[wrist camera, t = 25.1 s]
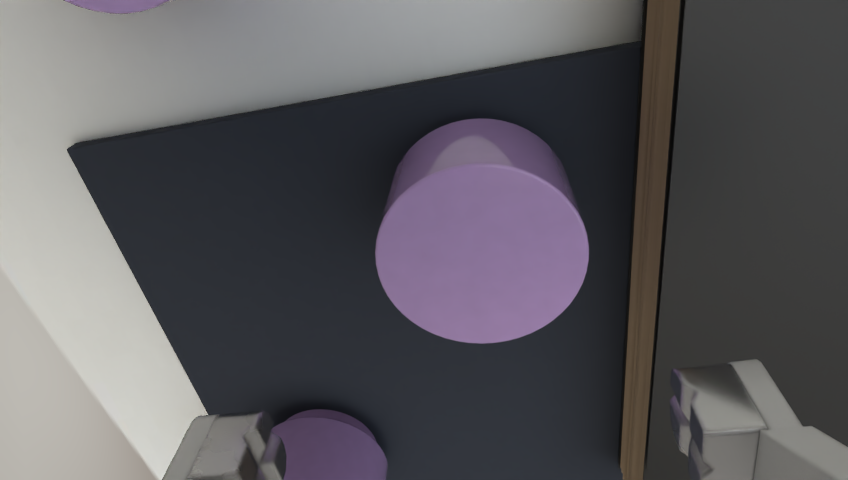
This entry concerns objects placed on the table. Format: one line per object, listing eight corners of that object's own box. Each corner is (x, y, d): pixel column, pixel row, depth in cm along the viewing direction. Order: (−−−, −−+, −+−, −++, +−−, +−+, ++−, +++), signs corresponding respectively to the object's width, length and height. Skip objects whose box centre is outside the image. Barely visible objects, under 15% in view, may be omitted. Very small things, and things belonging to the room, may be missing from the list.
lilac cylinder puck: (412, 272, 22) (399, 354, 18) (375, 123, 19) (350, 183, 15) (572, 252, 21) (595, 333, 17) (558, 92, 18) (583, 146, 14)
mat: (293, 559, 34) (291, 570, 33) (74, 143, 21) (65, 149, 21) (651, 541, 31) (655, 552, 30) (649, 39, 18) (654, 43, 17)
